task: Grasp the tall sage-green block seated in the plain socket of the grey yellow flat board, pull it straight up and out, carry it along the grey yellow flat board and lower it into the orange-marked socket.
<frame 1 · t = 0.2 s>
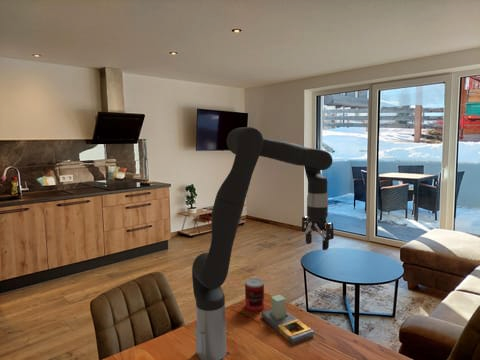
hand: (316, 246, 128), 28 cm above the table, fingers open, 8 cm apart
sage block: (278, 320, 131), resting in grey yellow flat board
grey yellow flat board: (286, 326, 126), on the table
canned food: (254, 307, 141), on the table
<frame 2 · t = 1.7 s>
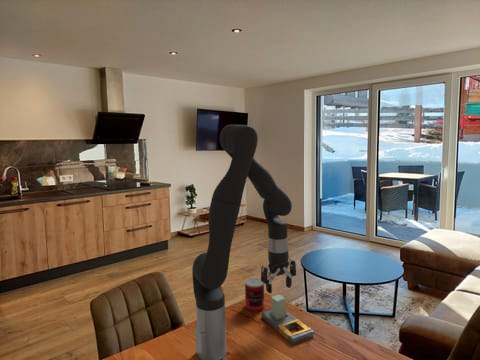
hand: (279, 289, 129), 12 cm above the table, fingers open, 8 cm apart
nothing on the table moved.
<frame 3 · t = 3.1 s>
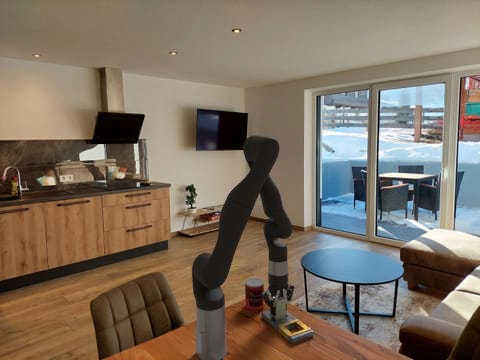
hand: (278, 313, 130), 3 cm above the table, fingers closed on sage block, 4 cm apart
sage block: (278, 319, 131), resting in grey yellow flat board, touching gripper
everything else where it was.
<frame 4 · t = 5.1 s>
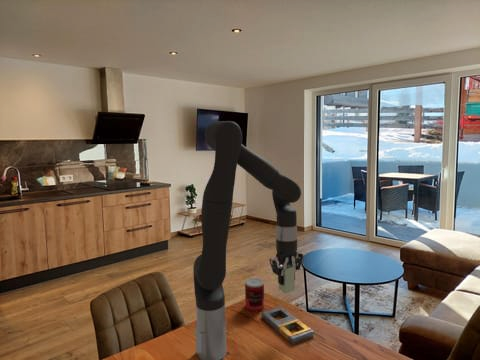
hand: (286, 282, 123), 17 cm above the table, fingers closed on sage block, 4 cm apart
sage block: (286, 289, 124), point 14 cm above the table, touching gripper
everything else where it was.
when the fingers open (4 cm above the table, at t = 7.3 s): sage block drops 1 cm, resting in grey yellow flat board.
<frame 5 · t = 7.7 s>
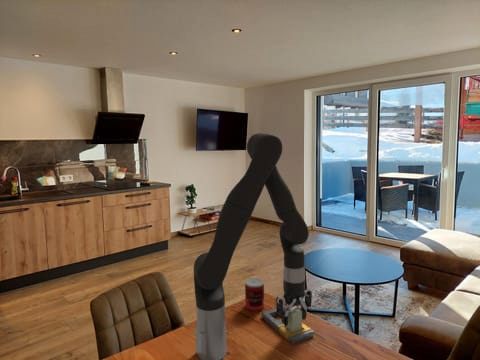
hand: (294, 321, 121), 4 cm above the table, fingers open, 7 cm apart
sage block: (293, 333, 122), resting in grey yellow flat board
everything else where it was.
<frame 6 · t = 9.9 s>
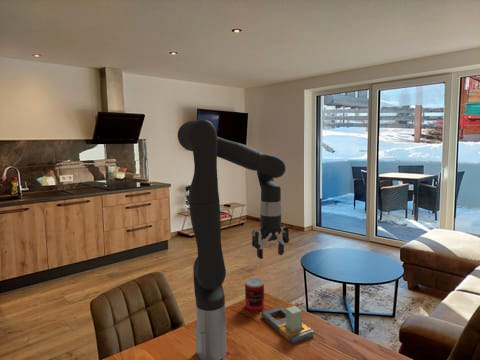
hand: (270, 256, 124), 26 cm above the table, fingers open, 8 cm apart
nothing on the table moved.
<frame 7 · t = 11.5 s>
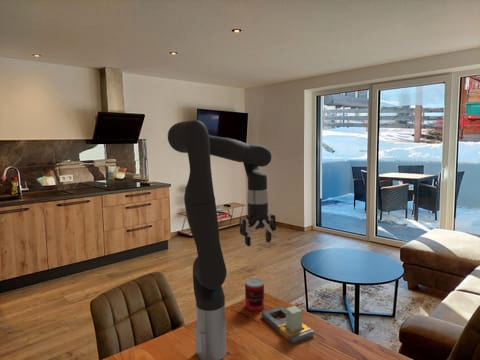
hand: (258, 243, 127), 30 cm above the table, fingers open, 8 cm apart
nothing on the table moved.
at the end: sage block 0.2 cm from the target spot on the grey yellow flat board, point 0.0 cm above the grey yellow flat board's base; sage block tilted 0°; the gripper is holding nothing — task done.
